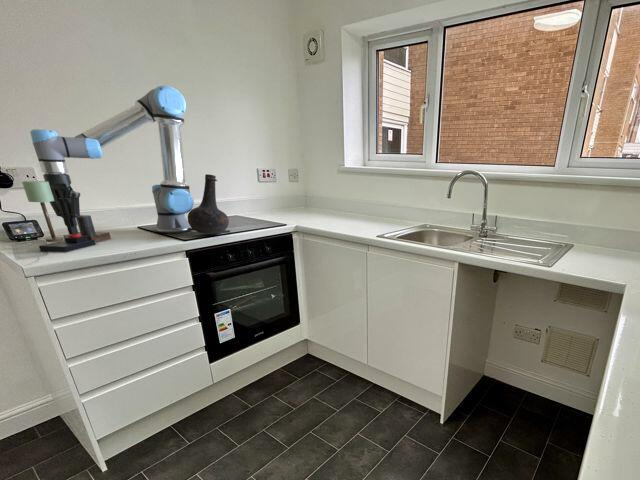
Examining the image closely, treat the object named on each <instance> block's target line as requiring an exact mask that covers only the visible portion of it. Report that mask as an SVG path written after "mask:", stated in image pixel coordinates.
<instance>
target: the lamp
mask: <svg viewBox="0 0 640 480" xmlns="http://www.w3.org/2000/svg"><path fill="white" fill-rule="evenodd" d="M21 184H22V187H23V189H24V193H25V196H26V199H27V202H29V203H39V204H40V207H41V210H42V213H43V216H44V219H45V221H46V225H47V229H48V232H49V234H50V237H46V238H44V241H45V242H46V243H54V242H59V241H63V240H64V236H63V237H62V236H56V234H55V230H54V227H53V224H52V221H51V218H50V215H49V212H48V208H47V207H46V204H45V203H50V202H51V201H54V198H53V194H52V191H51V188H50V185H49V182H48V181H45V180H23V181H21Z"/></svg>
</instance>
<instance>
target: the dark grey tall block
mask: <svg viewBox="0 0 640 480" xmlns="http://www.w3.org/2000/svg"><path fill="white" fill-rule="evenodd" d="M76 222H77V228H78V231H79V232H80V234H81V235H86V236H88V235H95V234H96V233H95V232H96V230H95V226H94V222H93V220H92V215H88V214H84V215H83V214H80V216H78V217H76Z"/></svg>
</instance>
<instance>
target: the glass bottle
mask: <svg viewBox="0 0 640 480" xmlns="http://www.w3.org/2000/svg"><path fill="white" fill-rule="evenodd" d="M204 176H205V177H204V188H203V195H202V200H201V203H200V204H199V205H198V206H197V207H193V208H192V209H191V210H190V211H189V212H188V213H187V221H188V223H189V225H190V226H191V228H192V229H194V230H193V231H195V232H197V233H200V234H209V235H221V234H222V233H225V232H224V231H225V230H227V228H228V227H229V224H230V219H229V216H228V214H226V213H225V212H224V211H222V210H220V209H219V208H218V205H217V197H216V194H217V193H216V182H218V179H217V177H216V175H214V174H207V173H206V174H204Z"/></svg>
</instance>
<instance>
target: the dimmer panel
mask: <svg viewBox="0 0 640 480" xmlns="http://www.w3.org/2000/svg"><path fill="white" fill-rule="evenodd" d="M78 233H79V234H80V231H78ZM95 233H96V234H95V235H88V236H87V239H90V240H95V244H96V243H100V242H104V241H107V240H111V239H112V238H111V237H112V236H111V233H110V232H109V231H107V232H106V231H95ZM68 235H69V233H68V234H64V235H63V238H64V237H65V236H68Z"/></svg>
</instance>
